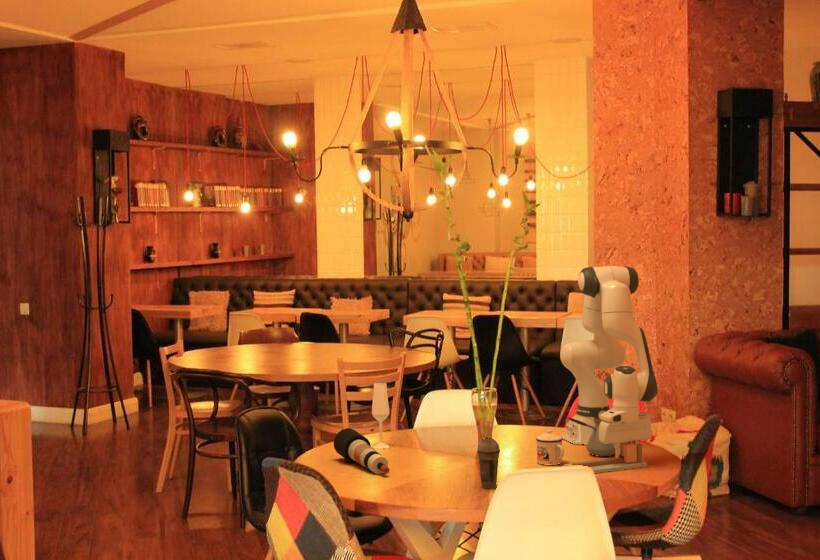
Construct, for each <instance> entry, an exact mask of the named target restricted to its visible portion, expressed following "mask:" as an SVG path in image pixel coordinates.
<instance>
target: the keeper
mask: <svg viewBox="0 0 820 560" xmlns="http://www.w3.org/2000/svg"><path fill="white" fill-rule="evenodd" d="M630 442H631V441H630ZM630 442H620V446H619V447H620V449H621V450H623V452H622V453H623V454H622V455H617V454H616V449H615V453H614V454H615V457H614V458H616V457H624V462H626V463H631V462H637V444H633V443H632V442H631V443H630Z"/></svg>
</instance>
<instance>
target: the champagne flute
mask: <svg viewBox="0 0 820 560" xmlns="http://www.w3.org/2000/svg"><path fill="white" fill-rule="evenodd" d="M389 403H390V402H389V397H388V387H387V383H385V382H377V383H376V382H375V383H373V393H372V405H371V415H372V417H373V418H374V419H375V420H377V422H379V423H378V425H379V427H378V428H379V429H378V430H379V431H378V433H379V442H378V443H376V444H375V445H374V444H373V446H372V448H374V449H375V450H378V449H380V450H384V449H383V448H385V449H389V448H390V447H391V446H390V445H388V444H387V443H385V442H384V440H383V437H384V436H383V434H384V433H383V422H384V421H385V420H386V419H387V418H388V417H389V415H390V406H389ZM377 448H378V449H377Z"/></svg>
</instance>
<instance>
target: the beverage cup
mask: <svg viewBox="0 0 820 560" xmlns="http://www.w3.org/2000/svg"><path fill="white" fill-rule="evenodd" d="M490 425H491V424H488V425H487V437H485V438H483V439H482V440H480V442H479V443H478V445H477V450H476V451H477V458H478V462H479V472H480V473H479V474H480V482H481V488H483V489H489V490H490V489H495V488H497V483H498V468H499V457H500V452H501V450H500V445H499V443H498V442H497V440H495V439H494V438H491V437H490Z"/></svg>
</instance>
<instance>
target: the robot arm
mask: <svg viewBox="0 0 820 560" xmlns="http://www.w3.org/2000/svg"><path fill="white" fill-rule="evenodd" d="M577 280H578V281H577V283H578V288H579V291H580V292H581V293H582V294H583V295H584V297H583V304H582V305H583V306H582V316H581V325H582V327H583V328H584V330H586V331H587V332H589V333H591V334H593V339H590V340H589V339H588V340H575V341H574V340H573V341H570V342H566V343H564V345H563V346H562V347H561V350H560V354H559V357H560V361H561V364H562V365H563V366H564V367H565V368H566V369H568V371H569V372H570V373H571V374H572V375H573V377H574V378H575V381H576V383H577V388H578V390H577V391H578V405H577V406H576V407H575V409H576V411H575V412H576V414H575V415H574V416H573V417H572V418H574V419H575V420H579V421H581V422H583V423H586V424H588V425H591V426H595V422H594V421H593V419H594V418H600V419H601V420H603V421H601V423H600V425H599V441H600V442H601V443H604V444H611V443H613V445H614V447H615V449H616V454H617V455H622V454H623V453H622V452H623V450H621V449H620V447H619V446H620V442H627V441H630V442H631V443H633V444H639V441H643V440H649V439H650V440H651V438H652V437H653V429H652V422H651V421H652V419H651V417H652V416H651V415H650V413H648V412H647V411H643V412H639V411H640V410H639V409H640V405H639V402H646V403H649V402H651V401H652V400H653V399H655V397H656V396H657V395H658V393H659V392H658V391H659V385H658V382H657V379H656V375H655V372H654V368H653V364H652V359H651V355H650V354H651V353H650V349H649V346H648V341H647V337H646V334H645V332H644V329H643V328H642V327H640V326H638V324H637V323H636V320H635V317H634V306H633V305H634V304H633V299H632V295H633V294H634V293H636V292H637V291H638V288H639V284H640V281H639V274H638V272H637V271H636V269H635V268H634V267H630V266H619V265H608V266H606V265H603V266H594V267H593V266H589V267H584V268H582V269H581V270H580V271H579V274H578V278H577ZM622 342H625V343H626V344H629V345H630V346H632V347H633V348H634V350H635V353H636V356H637V361H638V365H639V370H640V371H639V372H637V369H636V368H634V367H633V366H628V365H623V364H624V363H625V361H626V359H627V349H626V347H625V345H624V344H623V343H622ZM613 368H614V369H613ZM603 369H613V373H611V374H608V375H607V376H606V377H605V379H604V380H603V379H601V378H599V377H597V376H596V373H595V370H603ZM609 400H612V401H613V403H612V408H610V405H609ZM567 422H568V423H566V424H565V433H561V434H559V436H561V437H562V438H563V440H564V439H565V440H564V441H566V440H567V441H566V442H568V441H569V442H568V443H570V442H571V443H570V444H572V443H573V444H572V445H582V444H584V446H586V445H587V443H588V441H589V438H590V436H591V433H592V431H593V429H592V428H589V427H587V426H584V425H580V424H577V423H575V422H574V421H573V422H572V421H571V420H570V421H569V420H568V421H567Z"/></svg>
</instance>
